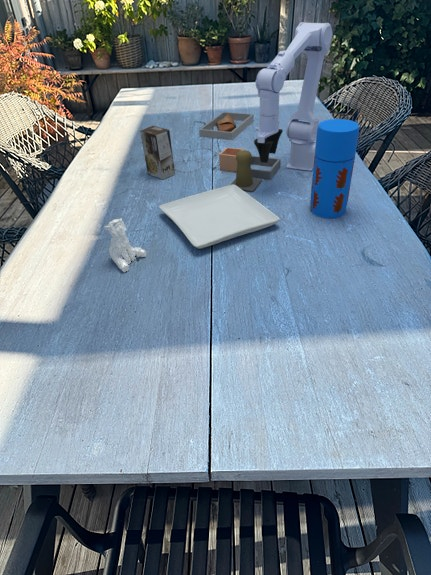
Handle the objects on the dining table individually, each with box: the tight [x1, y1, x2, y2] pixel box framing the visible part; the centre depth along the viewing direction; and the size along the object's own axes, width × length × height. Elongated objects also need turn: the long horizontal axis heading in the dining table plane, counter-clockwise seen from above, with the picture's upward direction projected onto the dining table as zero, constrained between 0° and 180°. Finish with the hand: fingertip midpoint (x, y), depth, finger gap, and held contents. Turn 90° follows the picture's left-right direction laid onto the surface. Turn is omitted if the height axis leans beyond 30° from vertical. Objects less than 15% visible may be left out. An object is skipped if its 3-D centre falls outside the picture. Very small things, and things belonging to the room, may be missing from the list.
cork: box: [235, 149, 253, 187], centre depth 137 cm, size 6×6×11 cm
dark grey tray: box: [198, 111, 255, 141], centre depth 185 cm, size 16×26×3 cm, turn 155°
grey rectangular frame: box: [250, 155, 282, 181], centre depth 147 cm, size 12×12×3 cm
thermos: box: [309, 118, 360, 219], centre depth 116 cm, size 11×11×25 cm
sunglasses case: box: [216, 114, 237, 132], centre depth 185 cm, size 18×7×7 cm, turn 7°
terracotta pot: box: [218, 146, 245, 173], centre depth 150 cm, size 7×7×6 cm
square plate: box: [158, 184, 281, 249], centre depth 122 cm, size 27×27×4 cm
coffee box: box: [139, 125, 176, 180], centre depth 147 cm, size 9×6×16 cm
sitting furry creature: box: [103, 217, 147, 273], centre depth 106 cm, size 10×9×12 cm
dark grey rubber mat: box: [229, 178, 263, 193], centre depth 140 cm, size 9×9×1 cm
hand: (268, 157), depth 131 cm, fingers open, 7 cm apart
